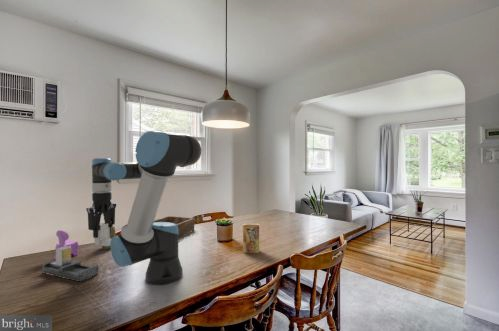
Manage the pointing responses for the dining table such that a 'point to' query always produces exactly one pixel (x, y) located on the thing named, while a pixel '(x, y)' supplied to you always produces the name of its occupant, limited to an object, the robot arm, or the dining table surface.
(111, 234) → the squeeze bottle
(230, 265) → the dining table surface
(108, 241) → the gold-topped white block
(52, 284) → the dining table surface
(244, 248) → the candy box
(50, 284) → the dining table surface
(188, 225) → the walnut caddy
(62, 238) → the toy chair
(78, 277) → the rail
